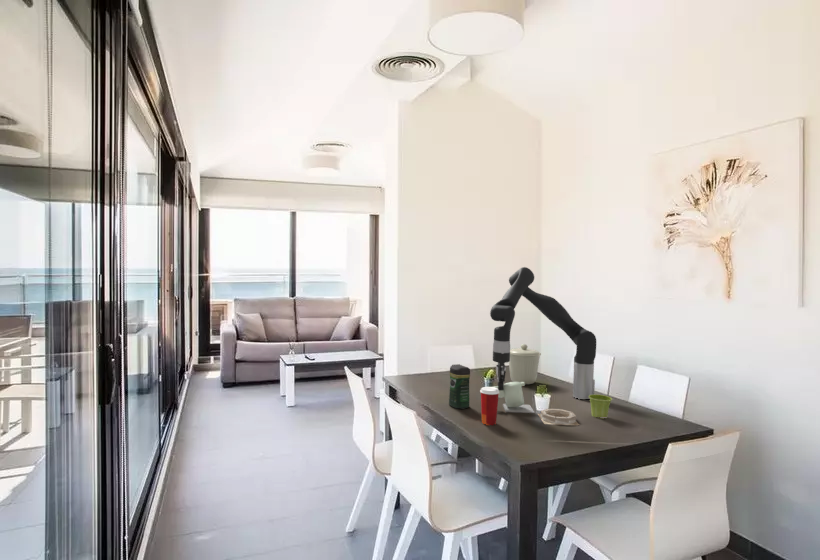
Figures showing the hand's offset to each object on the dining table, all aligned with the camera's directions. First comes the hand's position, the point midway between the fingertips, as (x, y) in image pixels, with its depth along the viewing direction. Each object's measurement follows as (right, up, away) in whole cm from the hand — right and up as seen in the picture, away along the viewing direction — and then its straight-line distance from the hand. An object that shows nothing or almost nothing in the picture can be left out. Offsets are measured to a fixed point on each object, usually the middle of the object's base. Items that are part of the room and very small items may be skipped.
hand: (500, 389), depth 221 cm
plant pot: (+40, -10, -9) cm, 43 cm away
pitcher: (+4, -7, 0) cm, 8 cm away
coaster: (+8, -9, 0) cm, 12 cm away
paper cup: (-8, -9, -20) cm, 24 cm away
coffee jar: (-18, -8, +3) cm, 20 cm away
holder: (+21, -10, -15) cm, 28 cm away
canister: (+22, -8, +53) cm, 58 cm away
